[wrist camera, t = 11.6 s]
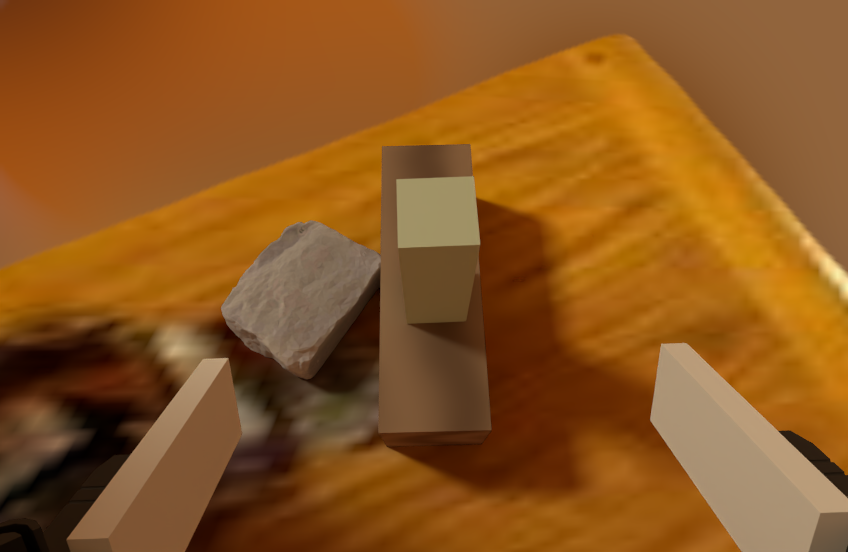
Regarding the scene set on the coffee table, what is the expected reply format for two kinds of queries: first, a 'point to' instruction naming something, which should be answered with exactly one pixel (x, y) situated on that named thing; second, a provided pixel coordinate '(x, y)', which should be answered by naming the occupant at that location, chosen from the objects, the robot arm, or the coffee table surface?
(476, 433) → the walnut beam
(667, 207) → the coffee table surface
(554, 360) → the coffee table surface
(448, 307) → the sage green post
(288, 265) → the stone block
